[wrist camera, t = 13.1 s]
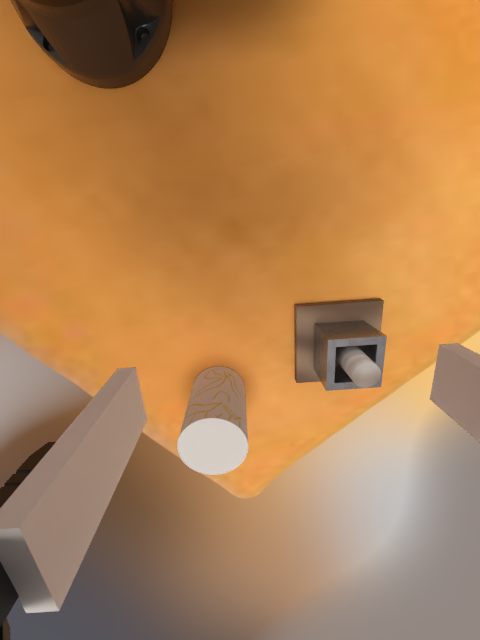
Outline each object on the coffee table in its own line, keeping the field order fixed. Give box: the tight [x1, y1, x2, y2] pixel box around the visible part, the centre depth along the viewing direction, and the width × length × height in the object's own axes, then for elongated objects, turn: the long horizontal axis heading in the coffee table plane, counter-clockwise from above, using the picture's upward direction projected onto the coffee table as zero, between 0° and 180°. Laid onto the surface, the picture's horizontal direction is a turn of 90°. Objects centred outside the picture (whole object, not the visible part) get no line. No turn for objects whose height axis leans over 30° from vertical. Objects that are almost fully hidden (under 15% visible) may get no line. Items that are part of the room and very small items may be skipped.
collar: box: [313, 320, 387, 391], centre depth 36 cm, size 7×7×6 cm
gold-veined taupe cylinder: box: [177, 366, 248, 475], centre depth 37 cm, size 8×8×12 cm
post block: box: [295, 299, 384, 388], centre depth 35 cm, size 12×12×10 cm
